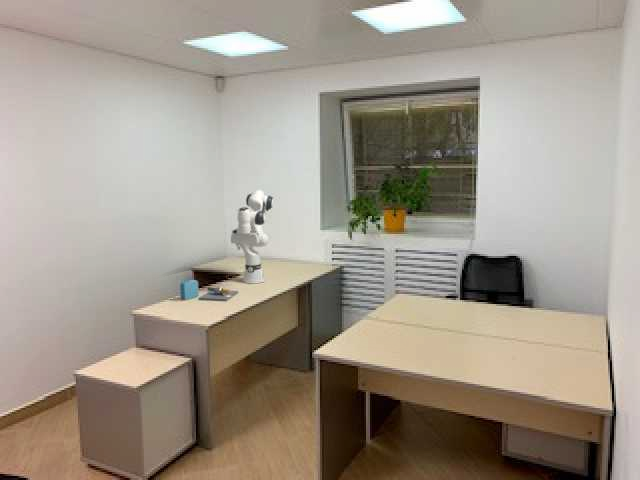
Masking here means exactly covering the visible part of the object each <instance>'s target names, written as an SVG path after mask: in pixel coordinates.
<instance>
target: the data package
mask: <svg viewBox="0 0 640 480" xmlns="http://www.w3.org/2000/svg"><path fill="white" fill-rule="evenodd" d="M179 288H180V289H179V290H180V298H181V300H184V301H189V300H193V299H195V298H199V297H200V296H199V294H200V293H199V281H198V280H195V279H190V280H186V281H182V282H180V284H179Z"/></svg>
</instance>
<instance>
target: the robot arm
mask: <svg viewBox="0 0 640 480" xmlns="http://www.w3.org/2000/svg"><path fill="white" fill-rule="evenodd" d="M274 201H275V200H274V198H273V196H271V195H267V194H265V193H264V191H263V190H261V189H255V190H254V191H253V192H252V193H248V194H247V195H246V198H245V202H246V203H245V204H246V205H247V206H248V207H240V208H239V209H238V210H237V221H238V225H237V228H235V229H233V230H231V235H230V243H231V244H235V247H236V248H237V251H238V250H239V251H240V250H241V249H242V251H243V254H244V257H245V258H244V259H245V265H244V266H245V267H244V269H245V270H243V279H242V280H241V281H242V283H243V282H244V283H245V284H251V285H252V284H260V283H266V281H267V279H268V277H267V276H265V271H264V269H262V263H261V255H260V252H258V251H256V250H255V249H254V248H257V247H258V248H261V247H266V246H267V245H268V243H269V236H268V235H267V234H266V233H265V232H264V224H265V222H266V212H268V211H270V210H271V209H272V208H273V206H274ZM250 209H251V210H252V211H250Z"/></svg>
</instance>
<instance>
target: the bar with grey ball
mask: <svg viewBox="0 0 640 480" xmlns="http://www.w3.org/2000/svg"><path fill="white" fill-rule="evenodd" d="M206 289H207V291H208V292H209V291H213V292H214V293H215V295H222V294H223V293H224V294H230V291H231V290H230V289H225V288H224V286H217V287H215V286H214V287H212V286H207V288H206Z"/></svg>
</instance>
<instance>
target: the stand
mask: <svg viewBox="0 0 640 480" xmlns="http://www.w3.org/2000/svg"><path fill="white" fill-rule="evenodd" d="M237 294H239V291H238V290H230V294H224V293H223V294H222V295H215V293H214V292H213V291H208V292H206V293H205V294H202V295H201V296H198V301H209V302H210V301H211V302H212V301H214V302H227V301H229V300H230V299H232V298H233V297H235V296H236V295H237Z"/></svg>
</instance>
